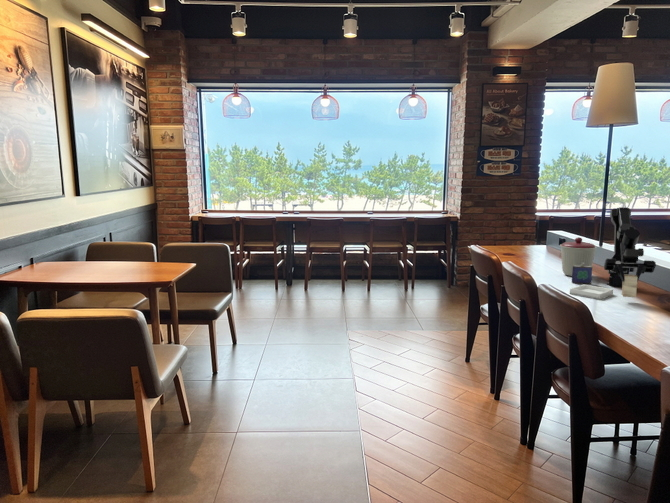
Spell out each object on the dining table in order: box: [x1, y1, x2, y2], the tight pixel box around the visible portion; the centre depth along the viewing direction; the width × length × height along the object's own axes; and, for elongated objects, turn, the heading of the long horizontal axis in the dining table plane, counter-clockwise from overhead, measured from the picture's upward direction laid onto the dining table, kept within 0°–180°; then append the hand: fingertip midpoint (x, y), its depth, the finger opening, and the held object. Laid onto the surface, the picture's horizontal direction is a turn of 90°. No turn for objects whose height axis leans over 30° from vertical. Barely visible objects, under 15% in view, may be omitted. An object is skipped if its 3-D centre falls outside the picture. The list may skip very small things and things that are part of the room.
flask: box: [571, 263, 593, 285], centre depth 240 cm, size 9×3×11 cm, turn 78°
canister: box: [559, 237, 598, 277], centre depth 258 cm, size 18×18×21 cm
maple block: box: [621, 273, 638, 298], centre depth 204 cm, size 5×5×9 cm
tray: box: [569, 284, 614, 301], centre depth 219 cm, size 13×13×2 cm
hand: (630, 281), depth 203 cm, fingers closed on maple block, 5 cm apart
